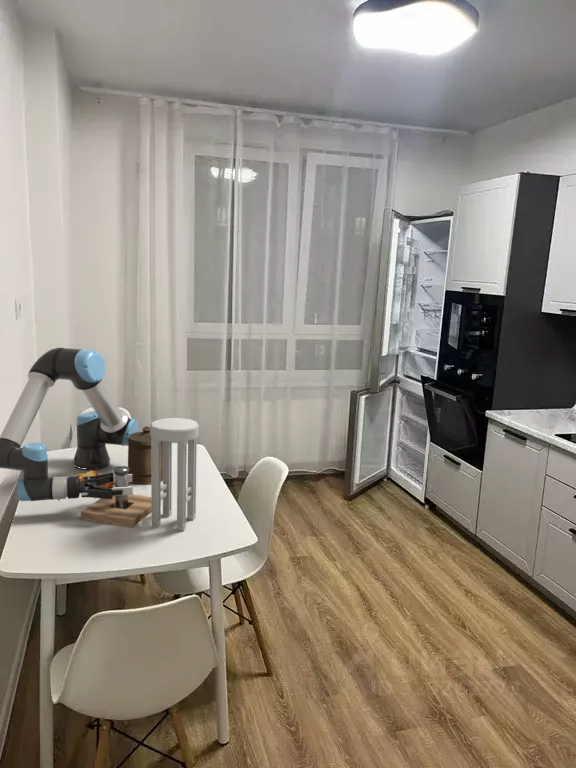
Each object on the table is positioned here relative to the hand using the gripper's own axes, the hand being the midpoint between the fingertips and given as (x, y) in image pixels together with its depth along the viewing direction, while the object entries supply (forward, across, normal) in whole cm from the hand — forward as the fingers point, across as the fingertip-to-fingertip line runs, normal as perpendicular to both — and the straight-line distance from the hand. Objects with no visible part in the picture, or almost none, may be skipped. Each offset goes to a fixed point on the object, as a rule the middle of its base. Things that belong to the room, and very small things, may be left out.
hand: (132, 484), depth 202 cm
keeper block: (-4, 0, -10) cm, 11 cm away
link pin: (-4, 0, -10) cm, 11 cm away
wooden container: (+6, -33, -10) cm, 35 cm away
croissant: (-16, -27, -10) cm, 33 cm away
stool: (+14, +12, -10) cm, 21 cm away
